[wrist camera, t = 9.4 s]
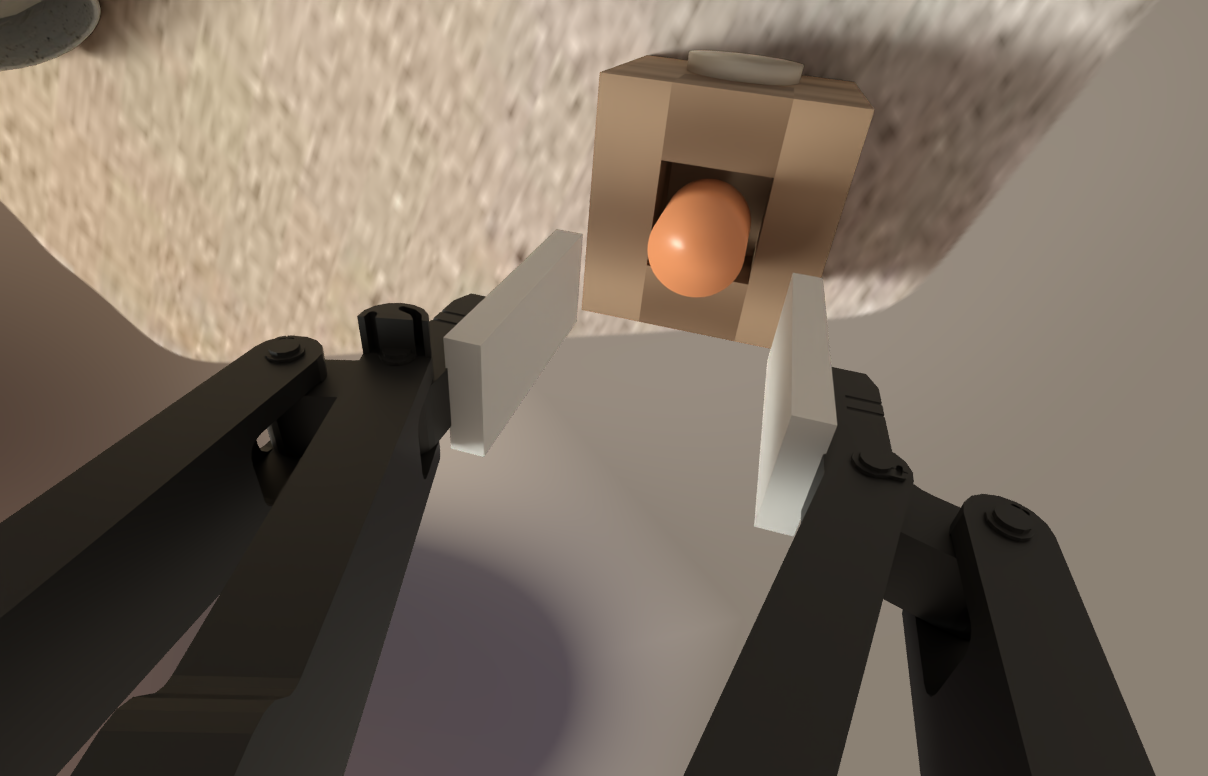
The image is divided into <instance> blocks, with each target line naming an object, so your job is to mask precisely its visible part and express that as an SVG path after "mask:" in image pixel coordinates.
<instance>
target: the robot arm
mask: <svg viewBox="0 0 1208 776" xmlns="http://www.w3.org/2000/svg"><path fill="white" fill-rule="evenodd" d="M582 239H583V234H580V233H575V232H569V231H564V230H558V229H556V230H555V231H554V232H553V233H552V234H551V235H550V236H549V237H548V238H547V239H546V240H545V241H544V242H543V243H542V244H541V245H540V246H539V247H538V248H537V249H536V250H534V251H533V252H532V253H531V254H530V255H529V256H528V257H527V258H526V259H525V260H524V261H523V262H522V263H521V264H520V265H519V266H518V267H517V268H516V269H515V270H513V271H512V272H511V273H510V274H509V275H508V276H507V277H506V278H505V279H504V280H503V281H502V282H501V283H500V284H499V285H498V286H497V287H496V288H495V289H494V290H493V291H491V292H490V293H489V294H488V295H487V296H486V297H485V296H480V295H476V294H469V295H466V296H464V297H461V298H459V299H456V300H454V301H453V302H451V303H450V304H449V305H448V306H447V307H446V308H445V309H443V311H442V312H440V313H439V314H438V315H437V316H435V317H434V319H433V320H431V321H430V322H429V315H428V314H427V313H426V311H425V310H424V309H422V308H420V307H417V306H415V305H411V304H404V303H387V304H382V305H377V306H373V307H371V308H369V309H366V310H364V311H363V312H362V313H361V314H359V315H358V316H357V317H358V324H359V330H360V336H361V342H362V348H363V355H362V357H361V359H360V360H356V361H352V360H325V357H324V352H323V347H322V345H321V344H320V343H319V342H318V341H317V340H314V339H311V338H308V337H301V336H288V337H286V336H282V337H277V338H275V339H272V340H268V341H265V342H263V343H261V344H259V345H257V346H255V347H254V348H252V349H251V350H250V351H248V352H247V353H245V354H244V355H242V356H241V357H239V358H238V359H237V360H235V361H234V362H232V363H231V364H229V365H228V366H226V367H225V368H224V369H222V370H221V371H219V372H218V373H216V374H215V375H214V376H212V377H211V378H209V379H208V380H207V381H205V382H203V383H202V384H200V385H199V386H198V387H196V388H195V389H193V390H192V391H191V392H189V393H187V394H186V395H185V396H183V397H182V398H180V399H179V400H177V401H176V402H174V403H173V404H172V405H170V406H169V407H167V408H166V409H164V410H163V411H162V412H160V413H159V414H157V415H156V416H154V417H153V418H152V419H150V420H148V421H147V422H146V423H144V424H143V425H141V426H140V427H138V428H137V429H135V430H134V431H133V432H131V433H130V434H128V435H127V436H125V437H124V438H123V439H121V440H120V441H118V442H117V443H115V444H114V445H112V446H111V447H110V448H108V449H107V450H105V451H104V452H102V453H101V454H100V455H98V456H97V457H95V458H94V459H92V460H91V461H89V462H88V463H86V464H85V465H84V466H82V467H81V468H79V469H78V470H76V471H75V472H74V473H72V474H71V475H69V476H68V477H66V478H65V479H63V480H62V481H60V482H59V483H58V484H56V485H55V486H53V487H52V488H50V489H49V490H47V491H46V492H45V493H43V494H42V495H40V496H39V497H37V498H36V499H34V500H33V501H32V502H30V503H29V504H27V505H26V506H24V507H23V508H21V509H20V510H19V511H17V512H16V513H14V514H13V515H11V516H10V517H9V518H7V519H6V520H4V521H3V522H1V523H0V776H56V775H57V774H58V773H59V772H60V771H61V769H62V768H63V767H64V766H65V765H66V764H67V763H68V762H69V761H70V760H71V758H72V757H73V756H74V755H75V754H76V753H77V752H78V751H79V750H80V748H81V747H82V746H83V745H84V744H85V743H86V742H87V741H88V740H89V738H90V737H91V736H92V735H93V734H94V733H95V732H96V731H97V730H98V729H99V727H100V726H101V725H102V724H103V723H104V722H105V720H107V718H108V717H109V716H110V715H111V714H112V713H113V712H114V711H115V710H116V711H115V712H114V713H113V714H112V716H111V717H110V719H108V721H107V722H106V723H105V724H104V726H103V727H102V728H101V729H100V731H99V732H98V734H97V735H96V737H95V738H94V740H93V742H92V743H91V745H90V746H89V748H88V749H87V751H86V752H85V754H84V755H83V757H82V759H81V760H80V762H79V763H78V765H77V766H76V768H75V769H74V771H73V772H72V774H71V776H344V772H345V769H346V766H347V762H348V759H349V756H350V753H351V749H352V746H353V743H354V740H355V736H356V733H357V730H358V726H359V723H360V720H361V717H362V713H363V710H364V706H365V703H366V700H367V697H368V694H369V690H370V687H371V684H372V680H373V677H374V674H375V671H376V667H377V664H378V660H379V657H380V654H381V651H382V648H383V644H384V641H385V638H386V634H387V631H388V628H389V624H390V621H391V618H392V615H393V611H394V608H395V605H396V601H397V598H398V595H399V592H400V588H401V585H402V582H403V578H404V575H405V572H406V569H407V565H408V562H409V559H410V555H411V552H412V549H413V546H414V542H415V539H416V535H417V532H418V529H419V526H420V523H421V519H422V516H423V513H424V509H425V506H426V503H427V499H428V496H429V493H430V490H431V486H432V483H433V480H434V477H435V473H436V470H437V467H438V463H439V460H440V445H439V440H440V439H441V438H442V437H443V435H444V434H445V433H446V432H447V430H448V429H449V428H450V438H451V448H452V449H456V450H459V451H463V452H467V453H471V454H475V455H479V456H483V457H484V456H485V455H486V453H487V452H488V451H489V449H490V448H491V446H492V445H493V443H494V442H495V440H496V439H497V437H498V436H499V434H500V433H501V431H502V430H503V429H504V427H505V426H506V424H507V423H508V421H509V420H510V418H511V417H512V415H513V414H514V413H515V411H516V410H517V408H518V407H519V405H520V404H521V402H522V401H523V399H524V398H525V396H526V395H527V394H528V392H529V391H530V389H531V387H532V386H533V385H534V383H535V382H536V380H537V379H538V377H539V376H540V375H541V373H542V372H543V370H544V369H545V367H546V366H547V364H548V363H549V361H550V360H551V358H552V357H553V356H554V354H555V353H556V351H557V350H558V348H559V347H560V345H561V344H562V342H563V341H564V339H565V338H566V336H567V335H568V334H569V332H570V331H571V329H572V328H573V326H574V325H575V323H576V322H577V309H578V295H579V281H580V267H581V253H582ZM828 337H829V336H828V326H827V316H826V306H825V296H824V286H823V278H819V277H814V276H808V275H803V274H797V273H793V274H792V277H791V281H790V284H789V288H788V291H787V295H786V298H785V302H784V305H783V309H782V312H781V316H780V319H779V323H778V326H777V329H776V333H775V336H774V340H773V343H772V347H771V350H770V354H769V357H768V361H767V371H766V383H765V384H766V385H765V396H764V409H763V422H762V435H761V447H760V460H759V473H758V486H757V499H756V511H755V524H754V526H755V527H759V528H763V529H767V530H771V531H774V532H778V533H783V534H786V535H790V536H794V534H795V532H796V529H797V527H798V524H799V521H800V519H801V525H800V527H799V529H798V531H797V533H796V536H795V538H794V540H793V542H792V544H791V546H790V548H789V550H788V553H787V555H786V557H785V559H784V561H783V563H782V565H781V568H780V570H779V572H778V574H777V576H776V578H775V580H774V583H773V585H772V587H771V589H770V591H769V593H768V595H767V598H766V600H765V602H764V604H763V606H762V608H761V610H760V613H759V615H758V617H757V619H756V622H755V623H754V626H753V628H752V630H751V632H750V634H749V636H748V638H747V640H746V643H745V645H744V647H743V649H742V651H741V654H740V655H739V658H738V660H737V662H736V664H735V666H734V669H733V671H732V673H731V675H730V677H729V679H728V682H727V683H726V686H725V688H724V690H723V692H722V694H721V696H720V699H719V701H718V703H717V705H716V707H715V709H714V711H713V713H712V716H711V718H710V720H709V722H708V724H707V726H706V728H705V731H704V733H703V735H702V737H701V739H700V741H699V743H698V746H697V748H696V750H695V752H694V754H693V756H692V758H691V761H690V763H689V765H688V767H687V769H686V771H685V773H684V776H837V774H838V769H839V766H840V762H841V758H842V754H843V750H844V747H845V743H846V739H847V735H848V731H849V728H850V724H851V720H852V716H853V712H854V708H855V705H856V700H857V697H858V693H859V689H860V685H861V681H862V678H863V674H864V670H865V666H866V662H867V658H868V655H869V651H870V647H871V643H872V639H873V635H874V632H875V628H876V624H877V620H878V617H879V612H880V609H881V605H882V601H883V599H884V600H886V601H888V602H890V603H892V604H894V605H896V606H898V607H899V608H901V609H903V611H902V616H903V624H904V633H905V642H906V650H907V660H908V668H909V677H910V686H911V695H912V704H913V712H914V721H915V730H916V739H917V747H918V756H919V765H920V774H921V776H1155V773H1154V771H1153V768H1152V766H1151V764H1150V761H1149V759H1148V756H1147V754H1146V752H1145V749H1144V747H1143V744H1142V742H1141V740H1140V738H1139V735H1138V733H1137V730H1136V728H1135V725H1134V723H1133V721H1132V718H1131V716H1130V713H1129V711H1128V709H1127V706H1126V704H1125V702H1124V699H1123V697H1122V695H1121V692H1120V690H1119V687H1118V685H1117V683H1116V680H1115V678H1114V675H1113V673H1112V671H1111V668H1110V666H1109V664H1108V661H1107V659H1106V656H1105V654H1104V652H1103V649H1102V647H1101V644H1100V642H1099V640H1098V637H1097V635H1096V633H1095V630H1094V628H1093V625H1092V623H1091V620H1090V618H1089V616H1088V613H1087V611H1086V609H1085V606H1084V604H1083V602H1082V599H1081V597H1080V594H1079V592H1078V590H1077V587H1076V585H1075V582H1074V580H1073V578H1072V575H1071V573H1070V570H1069V568H1068V566H1067V563H1066V561H1065V559H1064V556H1063V554H1062V551H1061V549H1060V547H1059V544H1058V542H1057V539H1056V537H1055V535H1054V534H1053V532H1052V531H1051V529H1050V528H1049V526H1048V525H1047V524H1046V523H1045V522H1044V521H1043V520H1042V519H1041V518H1039V517H1038V516H1037V515H1036V514H1035V513H1034V512H1032V511H1031V510H1029V509H1028V508H1025V507H1024V506H1022V505H1021V504H1018V503H1017V502H1014V501H1011V500H1008V499H1006V498H1003V497H1000V496H995V495H987V494H980V495H974V496H971V497H970V498H968V499H967V500H966V501H965V502H964V503H963V505H962V507H961V508H960V507H958V506H955V505H953V504H951V503H949V502H946V501H944V500H942V499H940V498H937V497H935V496H933V495H931V494H929V493H927V492H925V491H923V490H921V489H920V488H918V487H917V486H916V485H914V484H913V482H914V480H913V472H912V471H911V469H910V468H909V466H908V465H907V463H906V462H905V461H904V460H902V459H901V458H900V457H899V456H897V455H896V454H895V453H893V452H892V449H891V444H890V439H889V435H888V430H887V426H886V421H885V418H884V412H883V407H882V405H881V403H882V402H881V398H880V393H879V389H878V387H877V386H876V385H875V384H874V383H873V382H872V380H871V379H870V378H869V377H868V376H867V375H866V374H863V373H858V372H853V371H848V370H844V369H839V368H834V367H831V357H830V346H829V338H828ZM265 429H267V430H268V433H269V437H270V441H269V442H268V443H267V444H266V445H265V446H263V447H262V448H259V446H258V444H257V441H256V439H257V438H258V437H259V435H260V434H261V433H262V432H263V431H264V430H265ZM220 593H221V594H220ZM219 595H220V596H219ZM218 596H219V598H218V599H217V601H216V602H215V604H214V606H213V607H212V609H211V611H210V613H209V614H208V616H207V618H206V619H205V621H204V623H203V624H202V626H201V628H200V629H199V631H198V633H197V634H196V636H195V638H194V640H193V641H192V643H191V644H190V646H189V648H188V650H187V651H186V653H185V655H184V656H183V658H182V660H181V661H180V663H179V665H178V666H177V668H176V670H175V671H174V673H173V675H172V676H171V678H170V679H169V680H168V682H167V683H166V684H165V686H164V687H162V688H161V689H160V690H159V691H157V692H156V693H153V694H148V695H142V696H137V697H133V698H132V699H130V700H129V701H127V702H126V703H124V704H123V705H122V706H120V707H119V708H118V709H117V707H118V706H119V705H120V704H121V703H122V702H123V701H124V700H125V699H126V698H127V696H128V695H129V694H130V693H131V692H132V691H133V690H134V689H135V688H136V686H137V685H138V684H139V683H140V682H141V681H142V680H143V679H144V678H145V676H146V675H147V674H148V673H149V672H150V671H151V670H152V669H153V668H154V666H155V665H156V664H157V663H158V662H159V661H160V660H161V659H162V658H163V657H164V655H165V654H166V653H167V652H168V651H169V650H170V649H171V648H172V647H173V645H174V644H175V643H176V642H177V641H178V640H179V639H180V638H181V637H182V636H183V634H184V633H185V632H186V631H187V630H188V629H189V628H190V627H191V626H192V624H193V623H194V622H195V621H196V620H197V619H198V618H199V617H200V616H201V614H202V613H203V612H204V611H205V610H206V609H207V608H208V607H209V606H210V605H211V603H212V602H213V601H214V600H215V599H216V598H217V597H218Z"/></svg>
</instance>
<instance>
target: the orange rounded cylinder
mask: <svg viewBox="0 0 1208 776" xmlns="http://www.w3.org/2000/svg"><path fill="white" fill-rule="evenodd" d="M750 228H751V214H750V210H749V206H748V204H747V202H746V200H745V198H744V197H743V196H742V194H741V193H740V192H739V191H738V190H737V189H736V188H734V187H733V186H732V185H730V184H728V183H726V182H724V181H721V180H717V179H700V180H696V181H693V182H690V183H688V184H686V185H685V186H683V187H682V188H681V189H679V190H678V191H677V192H676V193H675V195H674V196H673V197H672V199H671V200H670V202H669V203H668V205H667V206H666V208H665V210H664V211H663V213H662V214H661V216H660V218H659V219H658V221H657V222H656V224H655V225H654V227H653V229H652V231H651V234H650V236H649V241H648V249H647V250H648V259H649V263H650V266H651V268H652V271H653V273H654V274H655V276H656V277H657V278H658V280H659V281H660V282H661V283H662V284H663V285H664V286H665V287H667V288H668V289H670V290H671V291H673V292H675V293H677V294H680V295H683V296H687V297H706V296H711V295H714V294H716V293H718V292H720V291H722V290H724V289H725V288H727V287H728V286H729V285H730V284H731V283H732V282H733V281H734V280H735V279H736V277H737V276H738V274H739V273H740V271H741V268H742V266H743V263H744V258H745V253H746V248H747V243H748V238H749V233H750Z"/></svg>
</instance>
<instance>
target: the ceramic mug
mask: <svg viewBox="0 0 1208 776" xmlns="http://www.w3.org/2000/svg"><path fill="white" fill-rule="evenodd" d="M100 14H101V9H100V5H99V1H98V0H0V71H5V70H11V69H19V68H24V67H28V66H33V65H37V64H40V63H43V62H46V61H48V60H51V59H53V58H56V57H59V56H60V55H62V54H64V53H66V52H68V51H70V50H72V49H74V48H75V47H77V46H78V45H79V44H80V43H82V42H83V41H84V40H85V39H86V38H87V37H88V36H89V35H90V34H91V33H92V31H93V30H94V29H95V27H96V25H97V24H98V21H99V19H100Z"/></svg>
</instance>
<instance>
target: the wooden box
mask: <svg viewBox="0 0 1208 776" xmlns="http://www.w3.org/2000/svg"><path fill="white" fill-rule="evenodd" d="M803 67H804V65H802V64H800V63H797V62H793V61H789V60H784V59H778V58H772V57H766V56H759V55H752V54H744V53H735V52H724V51H709V50H693V51H689V57H688V60H680V59H673V58H665V57H657V56H650V55H646V56H644V57H641V58H638V59H635V60H633V61H630V62H627V63H624V64H622V65H619V66H616V67H613V68H611V69H608V70H605V71H602V72H600V77H599V90H598V103H597V116H596V129H595V142H594V155H593V168H592V181H591V194H590V207H589V221H588V234H587V247H586V260H585V273H584V286H583V299H582V310H585V311H590V312H595V313H600V314H605V315H610V316H615V317H619V318H624V319H629V320H634V321H639V322H644V323H648V324H653V325H658V326H663V327H668V328H673V329H678V330H682V331H687V332H692V333H697V334H702V335H707V336H712V337H717V338H722V339H726V340H731V341H736V342H741V343H745V344H750V345H755V346H760V347H765V348H770V349H771V347H772V343H773V340H774V336H775V333H776V329H777V326H778V323H779V319H780V316H781V312H782V309H783V305H784V302H785V298H786V295H787V291H788V288H789V284H790V281H791V277H792V274H793V273H797V274H803V275H808V276H814V277H819V278H821V277H822V273H823V270H824V267H825V264H826V261H827V258H828V255H829V251H830V248H831V245H832V242H833V239H834V236H835V233H836V229H837V226H838V223H839V220H840V217H841V214H842V211H843V207H844V204H845V201H846V198H847V195H848V192H849V189H850V185H851V182H852V179H853V176H854V173H855V170H856V166H857V163H858V160H859V157H860V154H861V151H862V148H863V144H864V141H865V138H866V135H867V132H868V129H869V126H870V122H871V119H872V116H873V113H874V108H873V107H872V106H871V104H870V103H869V101H868V100H867V99H866V97H865V96H864V95H863V93H862V92H861V91H860V89H859V88H858V86H857V85H856V84H855V82H851V81H843V80H835V79H828V78H820V77H812V76H804V75H802V71H803ZM700 179H717V180H721V181H724V182H726V183H728V184H730V185H732V186H733V187H734V188H736V189H737V190H738V191H739V192H740V193H741V194H742V196H743V197H744V198H745V200H746V202H747V204H748V206H749V210H750V214H751V228H750V233H749V238H748V243H747V248H746V253H745V258H744V263H743V266H742V268H741V271H740V273H739V274H738V276H737V277H736V279H735V280H734V281H733V282H732V283H731V284H730V285H729V286H728V287H727V288H725V289H724V290H722V291H720V292H718V293H716V294H714V295H711V296H706V297H687V296H683V295H680V294H677V293H675V292H673V291H671V290H670V289H668V288H667V287H665V286H664V285H663V284H662V283H661V282H660V281H659V280H658V278H657V277H656V276H655V274H654V273H653V271H652V268H651V266H650V263H649V259H648V250H647V249H648V241H649V236H650V234H651V231H652V229H653V227H654V225H655V224H656V222H657V221H658V219H659V218H660V216H661V214H662V213H663V211H664V210H665V208H666V206H667V205H668V203H669V202H670V200H671V199H672V197H673V196H674V195H675V193H676V192H677V191H678V190H679V189H681V188H682V187H683V186H685V185H686V184H688V183H690V182H693V181H696V180H700Z"/></svg>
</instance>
